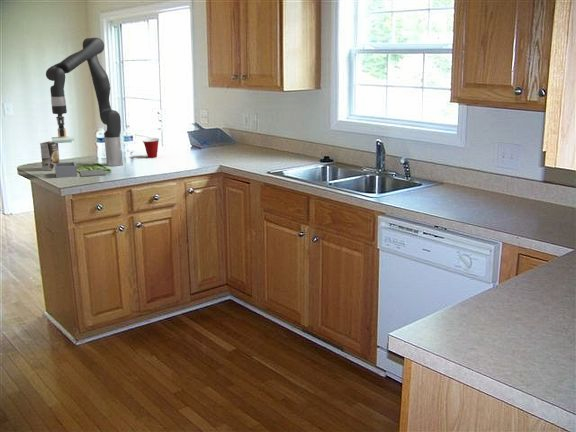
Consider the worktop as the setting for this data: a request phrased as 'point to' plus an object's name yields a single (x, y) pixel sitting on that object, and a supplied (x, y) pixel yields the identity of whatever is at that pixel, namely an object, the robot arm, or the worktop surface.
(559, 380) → the worktop surface
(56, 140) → the lid
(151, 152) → the plastic cup
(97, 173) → the mat
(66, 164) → the tub
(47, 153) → the coffee box
